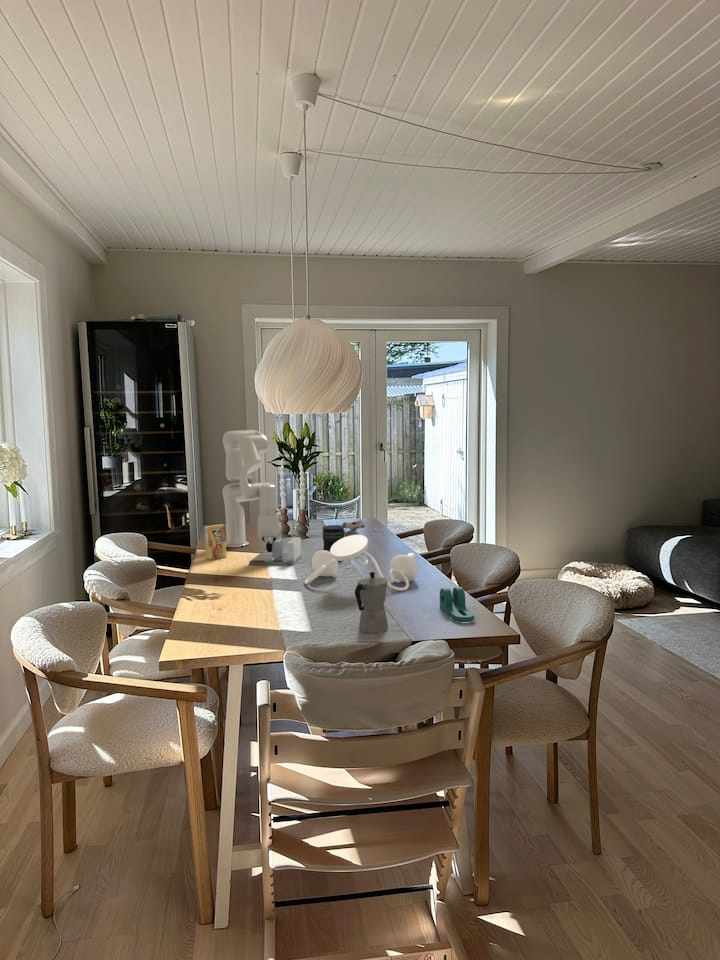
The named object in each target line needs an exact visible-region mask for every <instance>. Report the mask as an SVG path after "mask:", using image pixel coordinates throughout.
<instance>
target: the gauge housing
mask: <svg viewBox="0 0 720 960" xmlns="http://www.w3.org/2000/svg"><path fill="white" fill-rule="evenodd" d="M301 539H302V538H301V537H300V536H297V537H296V536H295V537H293V538H291V540H289V541H288V542H287V543H286V553H284V552H283V554H282V555H281V556H280V557H279V558H277V559H276V560H272V558H273V556H272V552H260V553H259V554H257V555H256V556H255V557H254V558H252V559H251V560H249V561H248V566H290V565H293V566H294V565H296V564H297V562H298V561H300V559H302V558H303V553H302V541H301Z"/></svg>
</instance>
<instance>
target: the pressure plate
mask: <svg viewBox="0 0 720 960" xmlns="http://www.w3.org/2000/svg"><path fill="white" fill-rule="evenodd" d="M283 545H284V543H283V539H282V538H281V539H278V540H275V541H274V542H273V544H272V552H271V553H272V556H273V558H272V560H276V559H277V558H279V557H280V556H281V555H282V554H283V553H284V552H283V551H284V547H283Z"/></svg>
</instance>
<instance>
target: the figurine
mask: <svg viewBox="0 0 720 960" xmlns="http://www.w3.org/2000/svg"><path fill="white" fill-rule="evenodd" d="M341 526H344V537H347V536H351V535H361V534H360V533H358V531H357V530H358V529H359V530H360V529H363V528H365V527H366V524H365V522H364V520H363V519H356V520H350V521H349V520H348V521H346V522H343V523H342V524H341ZM347 529H349V530H347Z"/></svg>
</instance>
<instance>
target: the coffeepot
mask: <svg viewBox="0 0 720 960" xmlns="http://www.w3.org/2000/svg"><path fill="white" fill-rule="evenodd" d="M375 575H376V572H374V571H370V572H369V576H370V577H368V578H367V577H366V578H362V579H359V580H358V581H357V585H356V587H355V589H354V596H355V600H356V602H357V603H356V604H357V607H358V610H359V611H360V616H359V626H358V630H360V632H362V633H366V634H379V633H380V632H381V633H384V632H386V631H387V630H388V628H389V624H388V619H387V613H386V607H385V602H386V597H387V596H386V595H387V588H388V586H387V582H388V580H387V578H386V577H384V578H380V577H375ZM385 579H386V580H385Z"/></svg>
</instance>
